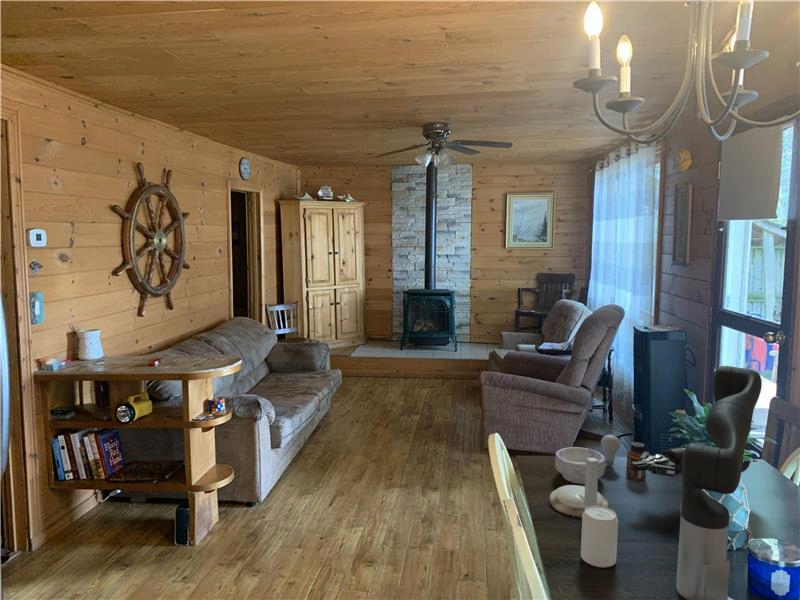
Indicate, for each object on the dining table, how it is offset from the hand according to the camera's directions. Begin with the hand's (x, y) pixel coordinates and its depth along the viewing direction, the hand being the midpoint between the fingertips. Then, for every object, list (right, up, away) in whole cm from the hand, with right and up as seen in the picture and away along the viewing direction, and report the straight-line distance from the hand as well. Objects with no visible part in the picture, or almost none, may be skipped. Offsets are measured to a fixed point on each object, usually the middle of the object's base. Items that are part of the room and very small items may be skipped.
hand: (632, 467), depth 166 cm
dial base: (-14, -12, +3) cm, 19 cm away
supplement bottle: (+10, -10, +21) cm, 26 cm away
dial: (-14, -10, +2) cm, 18 cm away
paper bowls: (-9, -10, +21) cm, 25 cm away
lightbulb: (+4, -9, +30) cm, 32 cm away
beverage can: (-19, -15, -26) cm, 35 cm away
